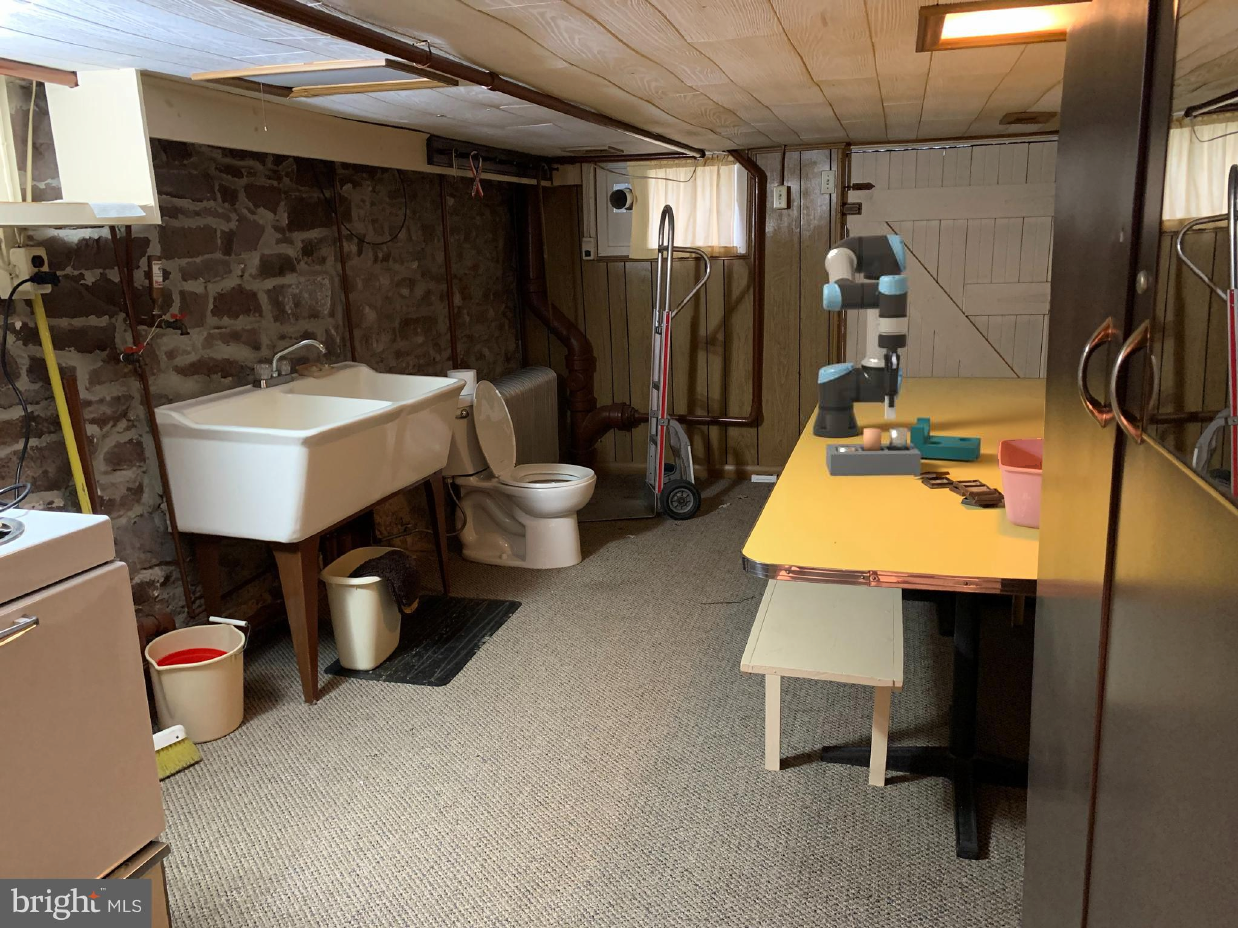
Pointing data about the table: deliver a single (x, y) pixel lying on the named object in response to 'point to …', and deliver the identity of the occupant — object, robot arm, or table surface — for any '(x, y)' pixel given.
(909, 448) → the grey rectangular block
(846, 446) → the steel plug
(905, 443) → the steel plug
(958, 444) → the teal l-shaped bracket
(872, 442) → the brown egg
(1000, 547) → the table surface
